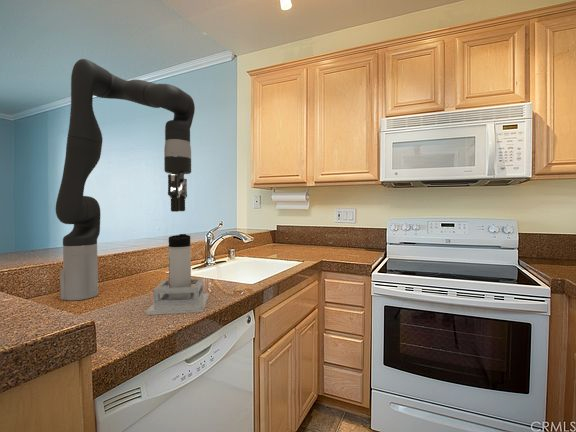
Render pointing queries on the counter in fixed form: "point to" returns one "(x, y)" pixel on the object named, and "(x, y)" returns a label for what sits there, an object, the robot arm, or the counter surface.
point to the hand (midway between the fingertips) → (178, 211)
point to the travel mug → (179, 264)
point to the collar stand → (178, 305)
